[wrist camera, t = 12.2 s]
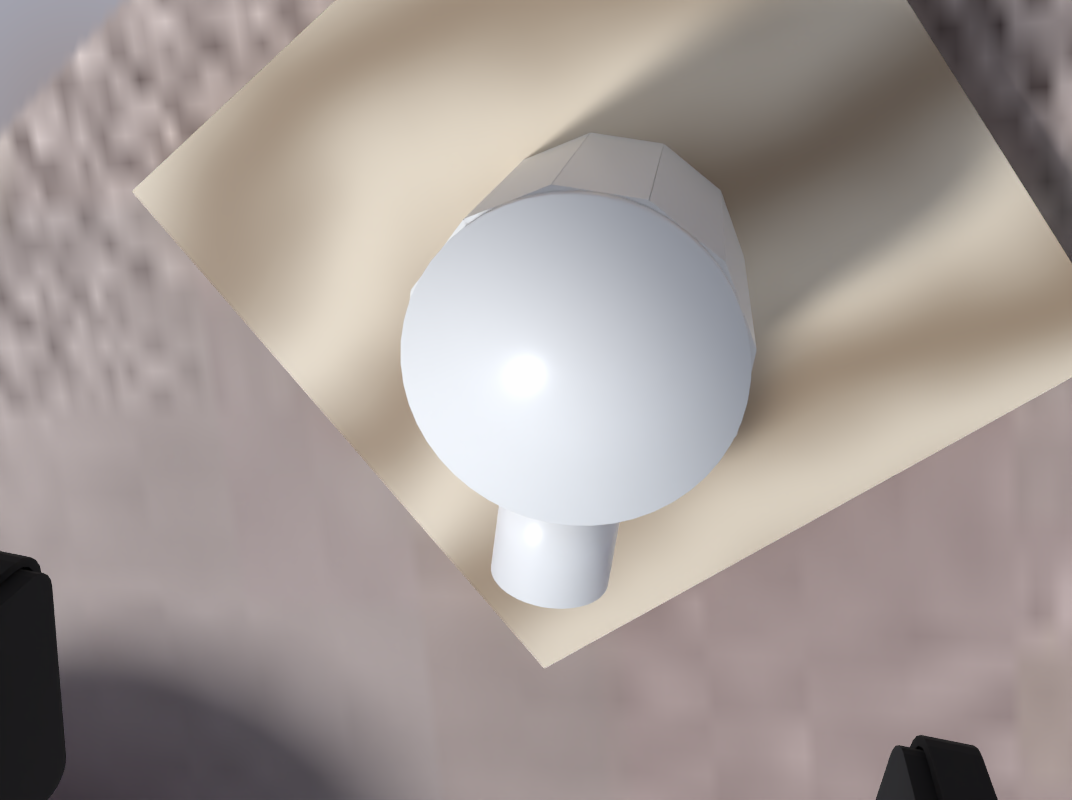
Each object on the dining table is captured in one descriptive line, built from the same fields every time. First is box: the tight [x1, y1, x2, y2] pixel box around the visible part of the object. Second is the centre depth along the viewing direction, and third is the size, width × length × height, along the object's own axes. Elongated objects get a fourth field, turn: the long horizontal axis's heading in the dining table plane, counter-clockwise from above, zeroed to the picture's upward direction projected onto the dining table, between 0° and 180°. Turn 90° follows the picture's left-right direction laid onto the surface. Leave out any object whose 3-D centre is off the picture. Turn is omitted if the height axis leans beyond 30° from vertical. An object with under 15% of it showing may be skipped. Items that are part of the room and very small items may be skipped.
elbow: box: [401, 132, 756, 609], centre depth 26 cm, size 7×11×8 cm
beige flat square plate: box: [132, 0, 1072, 669], centre depth 27 cm, size 20×20×7 cm
